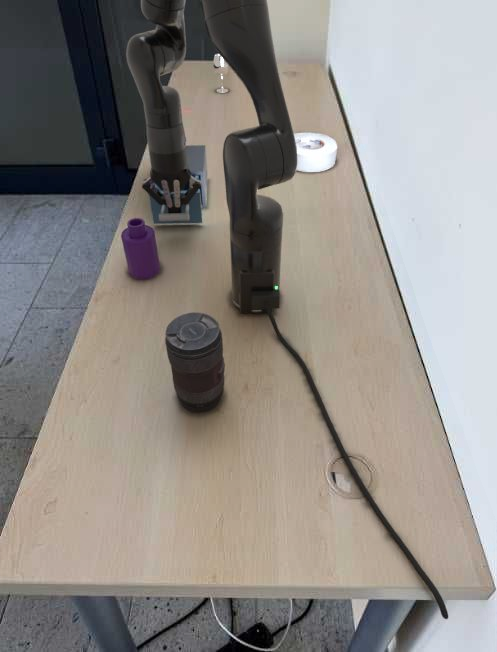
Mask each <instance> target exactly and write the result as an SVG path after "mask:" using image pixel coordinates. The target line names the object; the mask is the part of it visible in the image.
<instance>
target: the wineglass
mask: <svg viewBox="0 0 497 652" xmlns="http://www.w3.org/2000/svg"><path fill="white" fill-rule="evenodd" d="M212 62H213V65H212V66H213V67H212V68H213V71H214V73H216V74H217V75H220V82H221V87H220V88H217V89H216V92H217V93H218V94H219V93H220V94H226V93H228V92H229V89H228V88H224V84H223V83H224V82H223V81H224V76H223V75H226V74H227V73H228V72H229V71H230V67H229V66H228V64H227V63H226V62H225V61H224V59H223V58H222V57H221V56H220V54H219V53H215V54H214V56H213V61H212Z"/></svg>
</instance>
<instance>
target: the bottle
mask: <svg viewBox="0 0 497 652" xmlns="http://www.w3.org/2000/svg"><path fill="white" fill-rule="evenodd" d="M126 226H127V227H125V229H123V230H122V232H121V235H120V237H121V238H120V239H121V243H122V247H123V251H124V256H125V260H126V265H127V270H128V274H129V275H130V276H131V277H132V278H134V279H138V280H147V279H151V278H154V277H155V276H157V275H158V274H159V273H160V270H161V264H160V263H161V262H160V257H159V251H158V245H157V239H156V232H155V229H154V228H153V227H152V226H150V225H148V224H146V221H145V220H144V219H143V218H140V217H134V218H130V219H129V220H128V221H127V223H126Z"/></svg>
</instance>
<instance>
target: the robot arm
mask: <svg viewBox="0 0 497 652" xmlns="http://www.w3.org/2000/svg"><path fill="white" fill-rule="evenodd" d="M199 3H200V6H201V11H202V16H203V20H204V24H205V30H206V33H207V35H208V38H209V40H210V42H211V44H212V45H213V48H214V49H215V51H216V52H217V54H220V56H221V57H222V58H223V59H224V61H225V62H226V63H227V64H228V66H229V69H231V70H232V72H233V73H234V74H235V75H236V77H237V78H238V79H239V80H240V81H241V83H242V84H243V86H244V87H245V89H246V90H247V92H248V94H249V96H250V99H251V101H252V104H253V106H254V109H255V113H256V116H257V117H256V118H257V121H258V125H257V126H252V127H247V128H243V129H239V130H236V131H232V132H230V133H228V134H227V136H226V137H225V139H224V142H223V147H222V166H223V175H224V176H223V177H224V186H225V198H226V204H227V211H228V215H229V244H230V248H229V249H230V273H231V275H230V276H231V277H230V278H231V301H232V304H233V305H234V306H235V307H236V308H238V309H239V312H240V314H259V313H260V314H262V313H265V314H266V313H267V315H268V318H269V320H270V323H271V325H272V328H273V331H274V332H275V334H276V336H277V338H278V340H279V341H280V343H282V345H283V346H284V347H285V348H286V349H287V350H288V351H289V352H290V353H291V354H292V355H293V357H294V358H295V359H296V360H297V361H298V363H299V365H300V366H301V368H302V370H303V372H304V374H305V377H306V378H307V381H308V383H309V386H310V387H311V390H312V393H313V394H314V397H315V399H316V402H317V403H318V406H319V408H320V410H321V413H322V415H323V418H324V420H325V423H326V424H327V427H328V430H329V431H330V433H331V435H332V437H333V440H334V442H335V444H336V446H337V448H338V450H339V452H340V455H341V456H342V458H343V460H344V462H345V464H346V466H347V468H348V470H349V471H350V473H351V476H352V477H353V478H354V480H355V482H356V484H357V485H358V487H359V489H360V490H361V492H362V494H363V496H364V497H365V499H366V501H367V502H368V504H369V505H370V507H371V509H372V510H373V511H374V513H375V515H376V516H377V518H378V519H379V521H380V522H381V523H382V525H383V526H384V528H385V529H386V530H387V532H388V533H389V535H390V536H391V537H392V539H393V541H394V542H395V543H396V544H397V545H398V547H399V548H400V550H401V552H402V553H403V554H404V555H405V557H406V559H408V562H410V564H411V566H412V567H413V569H414V570H415V571H416V573H417V574H418V576H419V577H420V578H421V580H422V581H423V582H424V583H425V585H426V587H427V588H428V589H429V591H430V593H431V594H432V595H433V597H434V600H435V601H436V604H437V606H438V608H439V611H440V614H441V616H442V618H443V619H444V620H448V619H449V613H448V610H447V609H448V608H447V607H446V604H445V601H444V599H443V597H442V595H441V593H440V591H439V590H438V588H437V587H436V586H435V584H434V583H433V581H432V579H430V578H429V576H428V575H427V573H426V572H425V571H424V569H423V568H422V567H421V565H420V564H419V563H418V561H417V559H416V558H415V556H414V555H413V554H412V552H411V551H410V549H409V548H408V547H407V545H406V544H405V543H404V540H403V539H402V538H401V537H400V536H399V534H398V533H397V532H396V530H395V529H394V528H393V526H392V525H391V523H390V522H389V521H388V519H387V517H386V516H385V515H384V513H383V512H382V511H381V508H380V507H379V505H378V504H377V503H376V502H375V500H374V498H373V496H372V495H371V494H370V492H369V490H368V488H367V486H366V485H365V484H364V482H363V480H362V479H361V477H360V475H359V473H358V472H357V470H356V468H355V466H354V464H353V463H352V461H351V459H350V458H349V457H350V456H349V455H348V453H347V451H346V450H345V447H344V445H343V443H342V441H341V439H340V437H339V435H338V433H337V431H336V428H335V426H334V424H333V422H332V420H331V418H330V416H329V413H328V410H327V408H326V406H325V404H324V401H323V399H322V396H321V395H320V393H319V390H318V389H317V386H316V384H315V382H314V379H313V376H312V374H311V372H310V371H309V369H308V366H307V365H306V363H305V361H304V360H303V358H302V357H301V356H300V354H299V353H298V352H297V351H296V350H295V349H294V348H293V347H292V346H291V345H290V344H289V343H288V342H287V340H286V339H285V338H284V337H283V335H282V333H281V331H280V329H279V327H278V325H277V322H276V319H275V317H274V315H273V312H274V309H280V304H281V303H280V300H281V294H280V293H281V292H280V283H281V279H280V278H281V263H282V246H283V245H282V243H283V229H284V228H283V226H284V209H283V206H282V205H281V203H279V201H277V200H276V199H274V198H272V197H270V196H267V195H262V194H258V191H259V190H263V189H266V188H269V187H273V186H277V185H280V184H285V183H287V182H289V181H291V180H293V178H294V177H295V175H296V173H297V171H298V170H297V163H298V156H297V147H296V142H295V137H294V134H295V133H294V130H293V125H292V120H291V117H290V113H289V110H288V105H287V102H286V98H285V93H284V90H283V85H282V81H281V76H280V72H279V67H278V60H277V57H276V51H275V44H274V38H273V33H272V26H271V20H270V19H271V18H270V11H269V5H268V0H199ZM185 7H186V0H140V8H141V9H140V10H141V12H142V14H143V16H144V17H145V19H147V20H148V21H149V22H150V23H152V24H155V25H156V26H155V29H152V30H148V31H145V32H140V33H137V34H134V35H133V36H131V37H130V39H129V40H128V42H127V46H126V51H125V52H126V63H127V66H128V69H129V71H130V74H131V76H132V79H133V80H134V83H135V86H136V88H137V91H138V93H139V95H140V97H141V101H142V104H143V111H144V118H145V127H146V129H145V131H146V140H147V148H148V154H149V160H150V161H149V162H150V169H151V168H152V171H151V174H150V173H149V177H148V178H144V179H143V181H142V185H141V188H142V190H143V191H144V192H146V193H147V194H148V196H149V195H150V196H151V197H152V198H153V199H154V200H155V201H156V202H157V203H158V204H159V205H166V206H167V207H168V214H171V213H182V208H181V205H183V204H184V205H187V204H188V203H189V202H190V200H191V199H192V198H193V196H194V195H195V194H196V192H197V191H198V190H199V189H200V187H201V179H199V178H197V179H196V178H194V177H193V176H191V172H190V170H189V168H188V161H187V150H186V146H187V137H186V131H185V127H184V123H183V122H184V121H183V113H182V102H181V97H180V93H179V91H178V90H177V89H176V88H175V87H173V86H169V85H162V82H161V78H160V77H161V76H164V75H167V74H170V73H173V72H175V71H177V70H179V68H181V66H182V65H183V63H184V61H185V59H186V54H187V39H186V24H185V13H184V12H185ZM189 181H190V184H189V186H190V188H189V189H188V190H187V192H186V193H185V194H184V196H182V197H181V191H182V190H183V189H184V188H185V186H186V185H187V183H188V182H189ZM154 183H155V184H156V185H157V186H158V187H159V188H160V189H161V190H162V191H164V195H163V194H162V193H161V192H160V191H159V190H158V189H157V188H156V187H155V184H154ZM172 192H174V198H175V203H173V195H172ZM172 222H179V221H172Z"/></svg>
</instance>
